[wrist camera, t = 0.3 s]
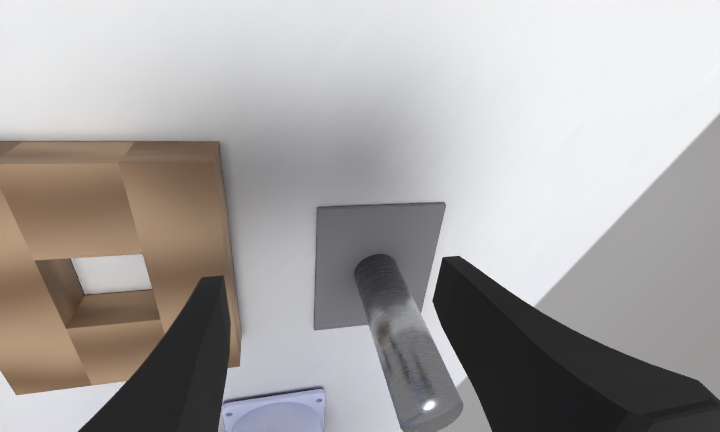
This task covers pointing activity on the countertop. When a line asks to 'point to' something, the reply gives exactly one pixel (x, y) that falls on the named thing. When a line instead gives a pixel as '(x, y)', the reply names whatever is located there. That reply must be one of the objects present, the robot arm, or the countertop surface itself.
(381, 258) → the steel peg
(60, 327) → the walnut hole block
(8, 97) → the countertop surface
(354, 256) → the rubber mat
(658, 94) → the countertop surface
